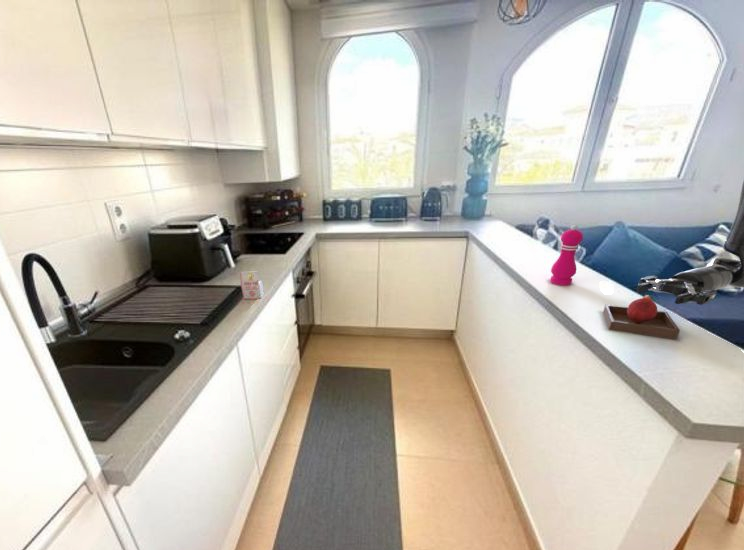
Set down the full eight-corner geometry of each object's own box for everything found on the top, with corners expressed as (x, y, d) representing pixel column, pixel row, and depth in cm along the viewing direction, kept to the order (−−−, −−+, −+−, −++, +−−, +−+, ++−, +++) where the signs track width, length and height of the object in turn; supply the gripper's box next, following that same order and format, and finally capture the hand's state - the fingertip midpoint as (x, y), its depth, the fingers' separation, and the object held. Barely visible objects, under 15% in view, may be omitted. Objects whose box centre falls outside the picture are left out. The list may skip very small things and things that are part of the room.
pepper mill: (552, 277, 125) (565, 221, 116) (575, 281, 120) (591, 224, 111) (545, 283, 121) (558, 225, 112) (569, 287, 116) (585, 228, 107)
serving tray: (663, 320, 93) (667, 311, 91) (676, 339, 84) (680, 330, 83) (602, 312, 99) (605, 304, 98) (608, 329, 90) (611, 321, 89)
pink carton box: (246, 295, 129) (241, 270, 125) (263, 295, 128) (259, 269, 124) (243, 299, 126) (238, 273, 121) (261, 299, 125) (257, 273, 121)
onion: (650, 330, 88) (662, 302, 84) (622, 324, 91) (631, 296, 88) (652, 321, 91) (663, 294, 88) (624, 316, 95) (634, 289, 91)
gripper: (669, 262, 98) (631, 273, 93) (737, 277, 86) (698, 290, 81) (659, 287, 101) (622, 298, 97) (724, 304, 89) (686, 318, 85)
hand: (657, 294), depth 89 cm, fingers open, 8 cm apart
